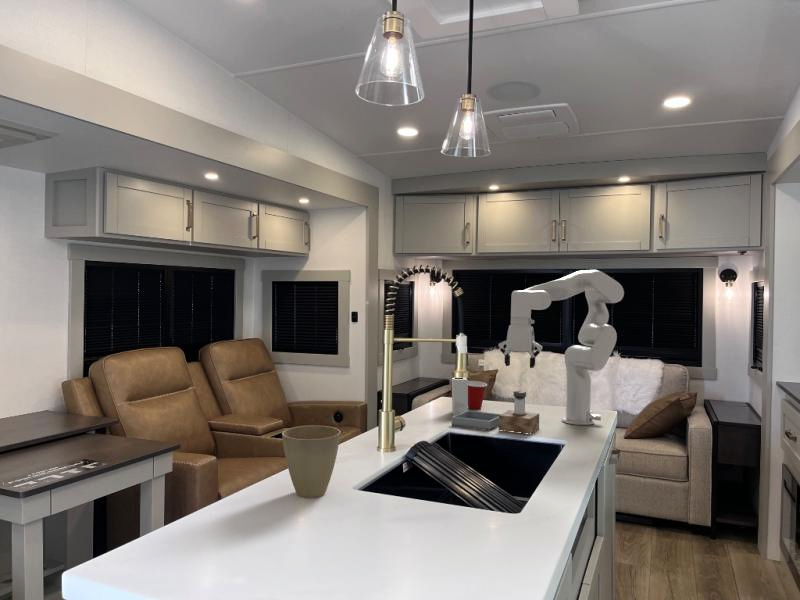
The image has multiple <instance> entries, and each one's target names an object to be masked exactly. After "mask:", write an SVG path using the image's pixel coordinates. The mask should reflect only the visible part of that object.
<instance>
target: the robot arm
mask: <svg viewBox="0 0 800 600" xmlns="http://www.w3.org/2000/svg"><path fill="white" fill-rule="evenodd" d="M580 293H584V294H585V295H584V296H585V298H586V301H587V306H588V312H587V315H586V318H585V319H584V322H583V324H582V326H581V327H580V330H579V332H578V336H577V339H578V342H579V343H580V344H581V345H579V344H578V345H577V344H574V345H571V346H570V347H567V349H566V350H565V352H564V364H565V369H566V394H565V395H566V398H565V399H566V401H565V403H566V404H565V406H566V409H565V416H563V417H562V419H561V421H562V422H563V423H566V424H570V425H578V426H588V425H589V426H591V425H593V424H595V421H602V416H601V415H599V414H593V411H592V410H591V391H592V390H591V386H592V385H591V384H592V383H591V382H592V380H591V375H590V372H589V371H591V372H592V371H593V372H598V371H602V370H603V369H604V368H605V366H606V365H607V363H608V361H609V359H610V356H611V354H612V352H613V350H614V348H615V346H616V343H617V338H618V336H617V335H618V333H617V332H616V329H615V327H613V326H612V325H610V324H608V322H609V318H610V313H609V310H608V308H607V306H606V304H616V303H618V302H621V301H622V300H623V298H624V295H625V290H624V288H623V286H622V285H621V284H620V282H618V281H617V280H615V279H614V278H612V277H611V276H609V275H608V274H606V273H604V272H603V271H600V270H597V269H589V270H588V269H586V270H583V269H582V270H577V271H575V272H572V273H571V274H567V275H566V276H563V277H561V278H558V279H555V280H551V281H547V282H545V283H540V284H537V285H533V286H530V287H528V288H525V289H523V290H513V291H512V293H511V301H510V302H511V303H510V306H511V307H510V325H509V326H508V329H507V335H506V340H503V341H501V342H499V343H498V348H499V350H500V352H501V354H503V356H504V364H505V367H509V366H510V365H511V355H510V354H511V353H512V352H516V353H528V354H529V355H530V357H529V368H530V369H532V368H535V366H536V358H537V357H538V356H539V355H540V354H541V352H542V350H543V346H542V345H541V344H539V343H537V342H536V341H535V331H534V327H533V326H531V325H533V324H535V319H532V317H531V315H532V310H537V311H541V310H546V309H548V308H549V307H550V306H551V304H552V302H553V301H554V302H555V301H562V300H567V299H569V298H572V297H573V296H575V295H578V294H580ZM504 345H506V349H505V348H504ZM535 348H537V349H536V350H535Z"/></svg>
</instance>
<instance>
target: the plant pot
mask: <svg viewBox="0 0 800 600" xmlns="http://www.w3.org/2000/svg"><path fill="white" fill-rule="evenodd" d="M281 435H282V436H281V437H282V444H283V452H284V455H285V461H286V465H287V469H288V472H289V477H290V480H291V482H292V486H293V488H294V490H295V494H296V495H297V496H298V497H300V498H304V499H316V498H320V497H322V496H324V495H325V494H326V492H327V490H328V486H329V483H330V481H331V479H332V475H333V471H334V469H335V463H336V460H337V455H338V451H339V444H340V439H341V438H340V436H341V430H340V429H338V428H336V427H333V426H327V425H302V426H294V427H290V428H287V429H285V430H283V431H282V433H281Z"/></svg>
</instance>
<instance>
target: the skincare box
mask: <svg viewBox="0 0 800 600" xmlns="http://www.w3.org/2000/svg"><path fill="white" fill-rule="evenodd" d="M455 378H456V377H452V378H451V395H452V396H451V405H452V406H451V409H452V415H453V416H455V415H458V414H460V413H463V412H465V411H467V410H469V408H468V381H469V380H468V379H467V377H462V378H463V379H455Z"/></svg>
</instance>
